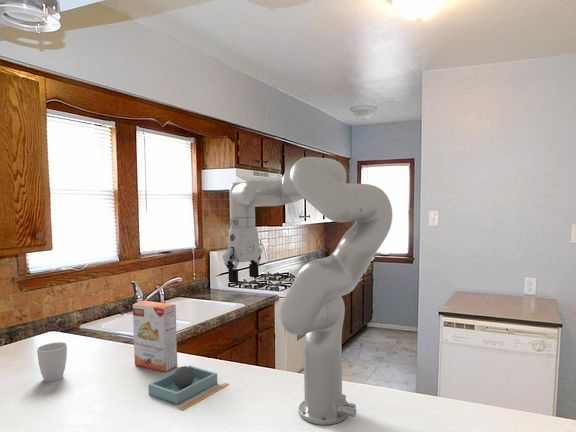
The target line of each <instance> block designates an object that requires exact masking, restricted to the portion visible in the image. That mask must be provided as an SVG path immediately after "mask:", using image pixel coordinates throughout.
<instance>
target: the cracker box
mask: <svg viewBox="0 0 576 432" xmlns="http://www.w3.org/2000/svg"><path fill="white" fill-rule="evenodd" d="M132 318H133V319H132V323H133V348H134V349H133V352H134V356H133V357H134V366H139V367H142V368H147V369H151V370H155V371H159V372H163V373H166V372H170V371H171V370H172V369H174V368H177V367H178V343H177V308H176V304H172V303H165V302H157V301H149V300H143V301H138V302H134V304H133V303H132Z"/></svg>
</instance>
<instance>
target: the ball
mask: <svg viewBox="0 0 576 432" xmlns="http://www.w3.org/2000/svg"><path fill="white" fill-rule="evenodd" d="M174 372H175V373H174ZM174 372H173V373H174V375H173V381H174V383H175V385H176V386H177V387H179V388H186V387H188V386H190V385H191V384H192V383H193V381H194V372H193V370H192V369H191V368H190V367H188V366H187V365H183V366H180V367H178V368H177V369H176V370H175V371H174Z"/></svg>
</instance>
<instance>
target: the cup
mask: <svg viewBox="0 0 576 432" xmlns="http://www.w3.org/2000/svg"><path fill="white" fill-rule="evenodd" d="M36 351H37V353H36V354H37V362H38V366H39V370H40V374H41V376H42V379H43V381H44V382H48V383H51V381H52V382H56V381H59V380H61V379H62V378H64V377H63V376H64V374H65V370H66V365H67V364H66V363H67V357H68V355H67V354H68V353H67V352H68V344H67V343H66V342H61V341H60V342H59V341H58V342H51V343H46V344H42V345H41V346H38V347H37V348H36Z"/></svg>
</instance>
